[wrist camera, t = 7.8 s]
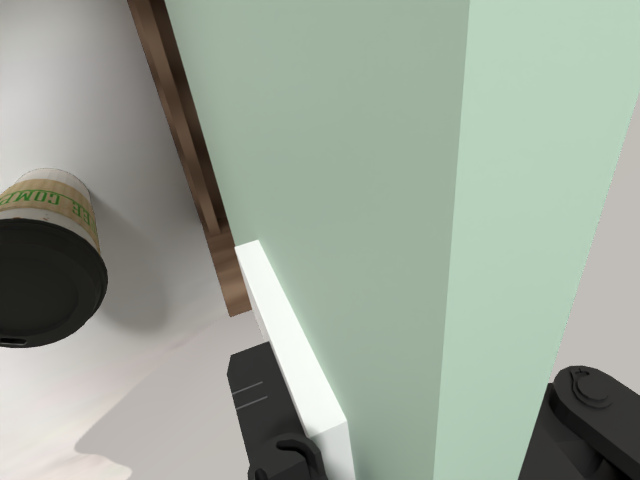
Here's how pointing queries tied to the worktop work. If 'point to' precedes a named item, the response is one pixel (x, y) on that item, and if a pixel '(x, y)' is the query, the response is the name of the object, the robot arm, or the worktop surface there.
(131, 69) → the worktop surface
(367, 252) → the sheet
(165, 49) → the rack
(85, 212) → the coffee cup
